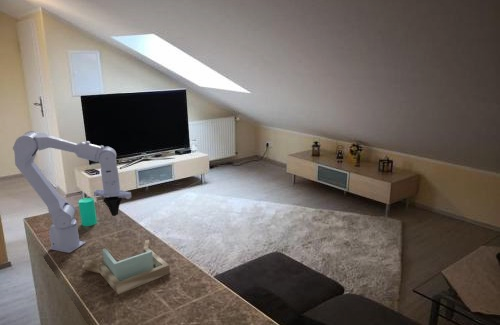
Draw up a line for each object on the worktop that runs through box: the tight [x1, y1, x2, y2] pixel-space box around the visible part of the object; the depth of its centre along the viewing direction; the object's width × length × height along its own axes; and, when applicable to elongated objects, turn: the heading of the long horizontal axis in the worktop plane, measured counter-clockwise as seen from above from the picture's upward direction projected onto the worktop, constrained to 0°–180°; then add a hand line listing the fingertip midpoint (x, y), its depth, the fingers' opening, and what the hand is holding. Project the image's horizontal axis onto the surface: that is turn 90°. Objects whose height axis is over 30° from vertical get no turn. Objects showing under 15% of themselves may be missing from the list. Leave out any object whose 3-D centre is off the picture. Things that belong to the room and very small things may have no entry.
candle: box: [78, 197, 98, 227], centre depth 158 cm, size 6×6×12 cm
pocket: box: [84, 239, 171, 295], centre depth 123 cm, size 21×23×3 cm
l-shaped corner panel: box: [101, 247, 155, 281], centre depth 122 cm, size 12×12×8 cm
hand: (115, 214), depth 141 cm, fingers closed
